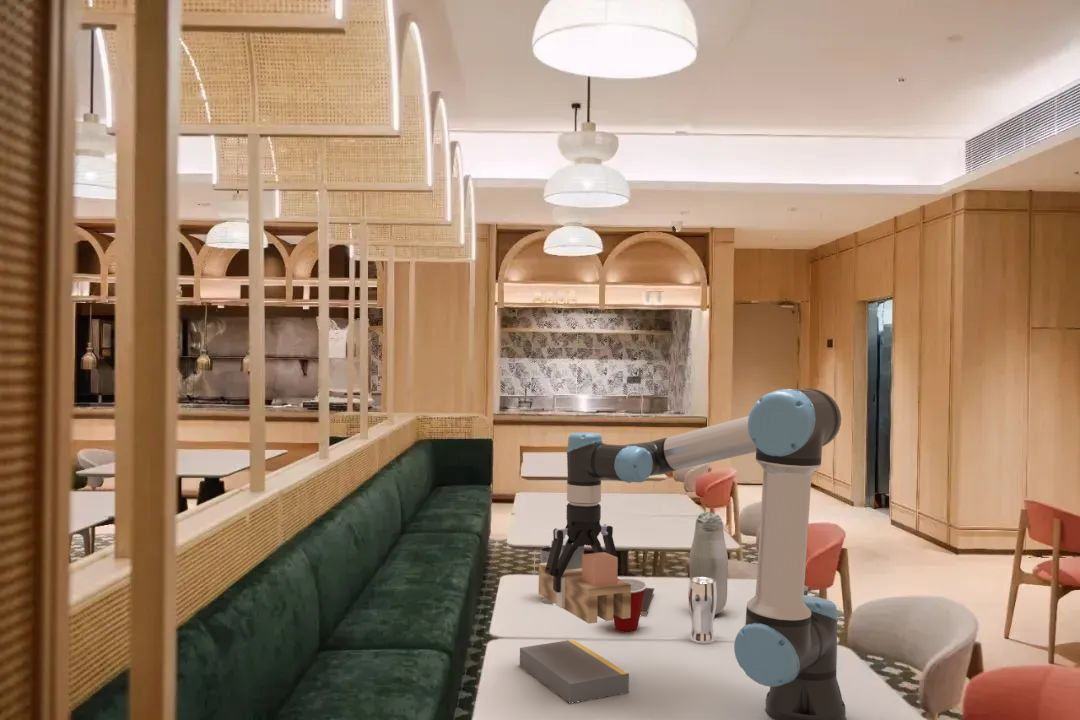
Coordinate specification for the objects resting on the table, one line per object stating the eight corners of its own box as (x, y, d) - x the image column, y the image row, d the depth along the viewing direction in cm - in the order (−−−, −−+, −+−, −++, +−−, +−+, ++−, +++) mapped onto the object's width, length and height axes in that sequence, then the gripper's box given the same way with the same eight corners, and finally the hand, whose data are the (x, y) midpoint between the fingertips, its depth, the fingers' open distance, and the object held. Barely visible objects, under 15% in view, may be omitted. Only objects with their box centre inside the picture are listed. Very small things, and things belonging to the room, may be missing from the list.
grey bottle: (683, 610, 239) (684, 510, 239) (715, 607, 242) (716, 508, 242) (700, 620, 230) (701, 516, 229) (733, 617, 233) (734, 514, 233)
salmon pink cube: (617, 583, 180) (617, 557, 180) (594, 586, 178) (594, 559, 178) (604, 577, 185) (604, 552, 185) (582, 580, 183) (582, 554, 183)
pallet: (630, 617, 180) (630, 584, 180) (588, 623, 175) (589, 589, 175) (576, 589, 201) (577, 559, 201) (538, 593, 197) (538, 563, 197)
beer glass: (716, 645, 210) (717, 584, 210) (687, 643, 211) (688, 582, 211) (716, 636, 217) (716, 577, 217) (688, 634, 218) (689, 575, 218)
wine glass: (535, 598, 249) (535, 547, 249) (559, 595, 252) (560, 545, 252) (547, 606, 242) (547, 553, 242) (572, 603, 245) (572, 550, 245)
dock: (632, 691, 180) (632, 672, 180) (570, 703, 173) (570, 683, 173) (577, 655, 201) (577, 638, 201) (519, 665, 195) (519, 647, 195)
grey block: (583, 567, 194) (584, 543, 194) (562, 570, 191) (562, 545, 191) (572, 562, 199) (572, 538, 199) (551, 564, 196) (551, 540, 196)
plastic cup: (598, 632, 219) (598, 585, 219) (614, 620, 229) (615, 575, 229) (637, 638, 214) (638, 590, 214) (652, 627, 224) (653, 581, 224)
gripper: (619, 497, 197) (617, 593, 197) (530, 503, 187) (528, 605, 187) (636, 502, 190) (635, 602, 190) (545, 509, 180) (543, 614, 180)
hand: (582, 603), depth 188 cm, fingers closed on pallet, 10 cm apart
